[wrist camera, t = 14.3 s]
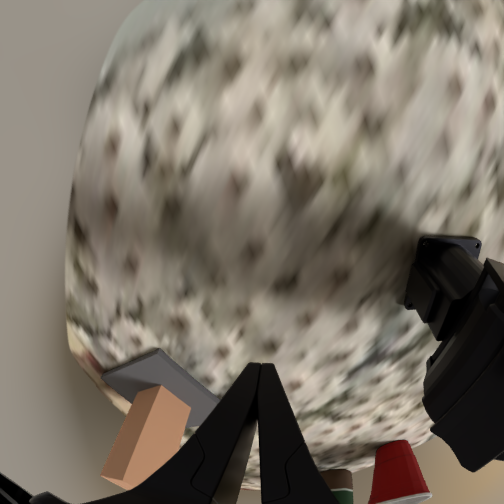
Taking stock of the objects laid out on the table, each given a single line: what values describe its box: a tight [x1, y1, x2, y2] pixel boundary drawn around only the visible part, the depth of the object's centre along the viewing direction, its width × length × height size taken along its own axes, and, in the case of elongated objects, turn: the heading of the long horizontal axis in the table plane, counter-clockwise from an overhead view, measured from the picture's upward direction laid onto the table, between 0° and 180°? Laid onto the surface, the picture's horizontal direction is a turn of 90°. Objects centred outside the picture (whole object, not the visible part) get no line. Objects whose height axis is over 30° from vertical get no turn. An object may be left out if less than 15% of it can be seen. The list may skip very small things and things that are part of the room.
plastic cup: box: [368, 440, 432, 504], centre depth 28 cm, size 11×11×12 cm
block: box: [100, 385, 191, 490], centre depth 24 cm, size 5×5×13 cm
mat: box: [101, 349, 220, 428], centre depth 30 cm, size 13×13×1 cm
